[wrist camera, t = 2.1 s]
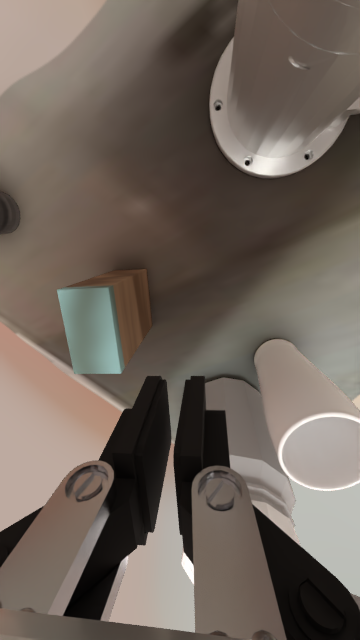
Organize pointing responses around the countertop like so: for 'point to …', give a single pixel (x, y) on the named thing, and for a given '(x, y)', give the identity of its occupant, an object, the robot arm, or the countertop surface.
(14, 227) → the beverage cup
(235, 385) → the jar
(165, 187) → the countertop surface
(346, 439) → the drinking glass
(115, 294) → the wooden block
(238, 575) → the robot arm
